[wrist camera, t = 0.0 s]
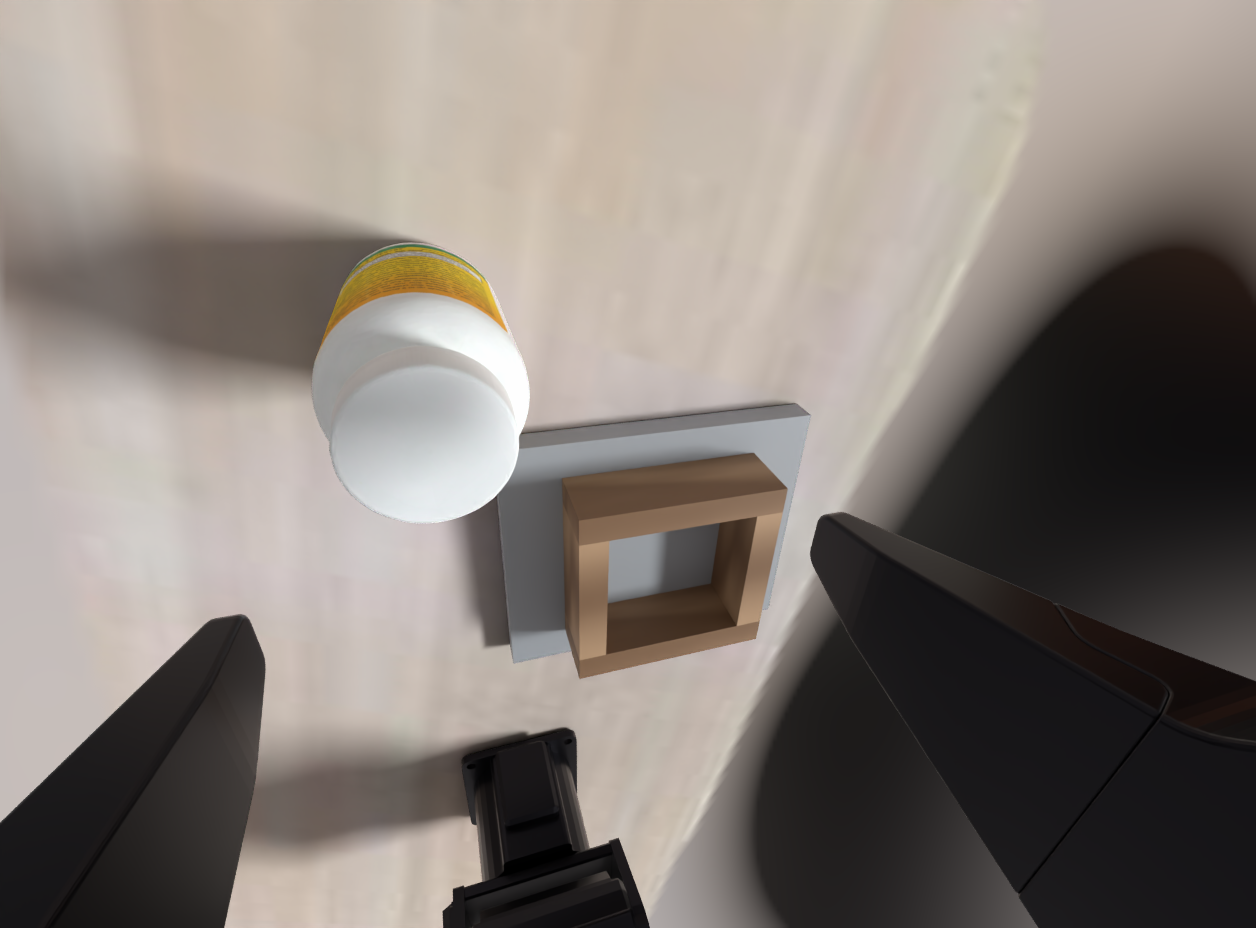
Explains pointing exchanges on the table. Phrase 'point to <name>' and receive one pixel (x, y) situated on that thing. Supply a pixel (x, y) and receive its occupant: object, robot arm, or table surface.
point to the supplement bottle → (420, 386)
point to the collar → (664, 503)
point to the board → (637, 561)
